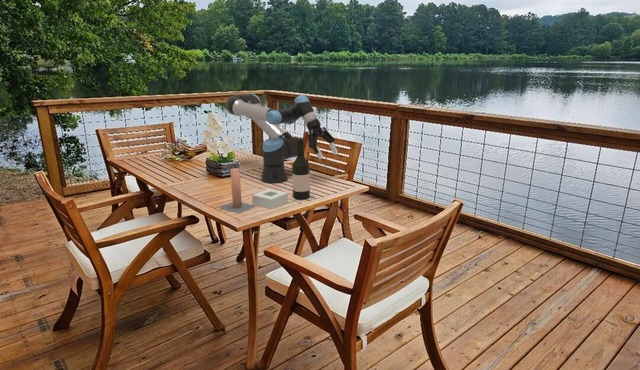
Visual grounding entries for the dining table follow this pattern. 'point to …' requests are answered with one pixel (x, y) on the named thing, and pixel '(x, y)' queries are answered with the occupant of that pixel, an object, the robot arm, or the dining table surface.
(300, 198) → the wine bottle
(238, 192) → the dowel
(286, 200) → the socket block
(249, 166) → the dining table surface
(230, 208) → the mat
